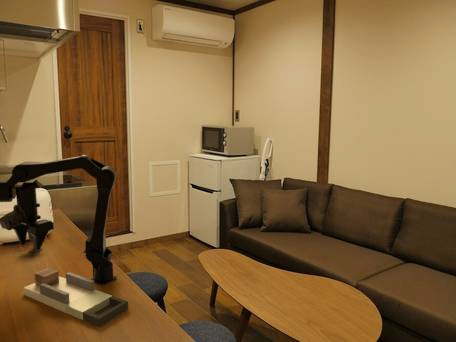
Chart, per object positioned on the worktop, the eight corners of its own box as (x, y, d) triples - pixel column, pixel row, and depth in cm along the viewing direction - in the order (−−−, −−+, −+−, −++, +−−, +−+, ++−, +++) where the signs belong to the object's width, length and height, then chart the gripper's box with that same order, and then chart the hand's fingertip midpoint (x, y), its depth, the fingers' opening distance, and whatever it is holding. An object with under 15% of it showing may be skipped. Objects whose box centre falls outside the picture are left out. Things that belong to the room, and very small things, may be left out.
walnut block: (59, 282, 126) (58, 271, 125) (45, 288, 122) (44, 276, 121) (49, 279, 128) (48, 267, 128) (35, 284, 124) (34, 273, 123)
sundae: (39, 246, 164) (37, 211, 161) (47, 250, 159) (45, 214, 157) (23, 250, 159) (20, 215, 156) (31, 254, 154) (28, 218, 152)
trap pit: (128, 309, 115) (128, 301, 115) (99, 327, 106) (98, 319, 106) (112, 303, 119) (112, 295, 118) (83, 320, 109) (82, 312, 109)
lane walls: (94, 289, 122) (94, 281, 121) (66, 304, 113) (65, 294, 112) (69, 280, 127) (68, 272, 127) (40, 293, 119) (39, 284, 118)
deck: (112, 303, 119) (112, 295, 118) (83, 320, 109) (82, 312, 109) (54, 281, 132) (54, 274, 132) (24, 294, 123) (23, 287, 122)
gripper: (-15, 202, 123) (-11, 249, 126) (19, 211, 113) (23, 262, 116) (19, 195, 132) (23, 239, 135) (53, 203, 123) (56, 250, 125)
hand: (30, 247), depth 128 cm, fingers open, 8 cm apart
